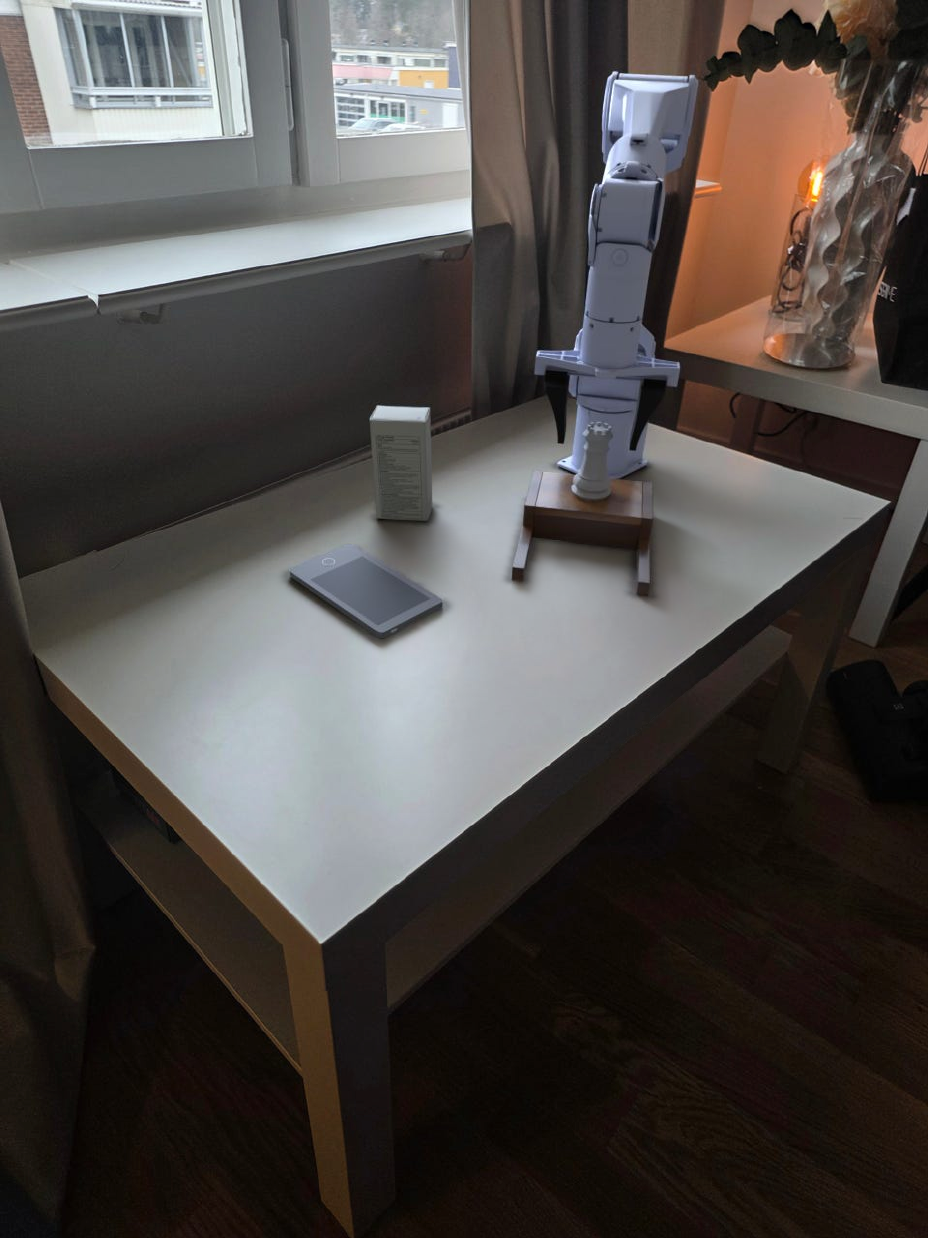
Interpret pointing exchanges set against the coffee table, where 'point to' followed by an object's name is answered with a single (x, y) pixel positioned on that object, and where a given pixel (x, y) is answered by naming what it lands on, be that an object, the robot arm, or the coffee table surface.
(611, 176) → the robot arm
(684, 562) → the coffee table surface
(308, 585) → the smartphone
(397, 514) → the cosmetic box
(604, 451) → the rook chess piece
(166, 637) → the coffee table surface
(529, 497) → the brown u-shaped piece
